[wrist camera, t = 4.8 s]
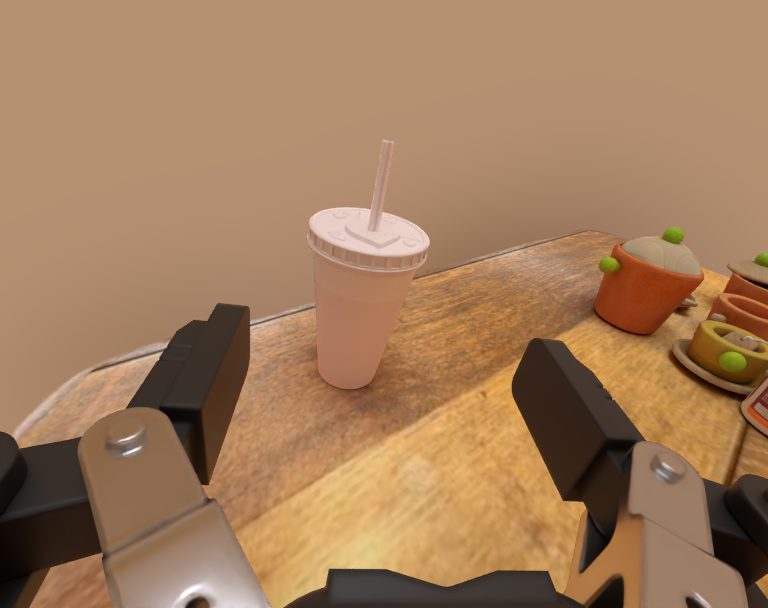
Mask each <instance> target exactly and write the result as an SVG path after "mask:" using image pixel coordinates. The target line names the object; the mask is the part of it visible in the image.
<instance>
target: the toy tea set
mask: <svg viewBox="0 0 768 608" xmlns="http://www.w3.org/2000/svg"><path fill="white" fill-rule="evenodd" d="M683 238H684V232H683V231H682V230H681V229H679V228H676V227H672V228H669V229H668V230H666V231H665V233H664V234H663V237H658V236H657V237H656V236H649V237H642V238H638V239H635V240H631V241H629V242H623V243H619V244H617V245H616V246H615V247H614V249H613V251H612V254H611V257H607V258H604V259H602V260H601V262H600V264H599V268H600V270H601V271H602V272H604V273H605V274H604V277H603V280H602V283H601V286H600V289H599V291H598V294H597V297H596V300H595V303H594V307H595V310H596V312H597V313H598V314H599V315H600V316H601V317H602V318H603V319H605V320H606V321H608V322H609V323H611V324H613V325H615V326H617V327H619V328H621V329H624V330H626V331H630V332H633V333H638V334H649V333H652V332H654V331H655V330H656V329H658V328H659V327H660V325H661V324H662V323H663V322H664V321H665V320H666V319H667V318H668V317H669V316H670V315H671V314H672V313H673V312H674V311H675V310H676V309H677V308H678V307H691V306H693V307H696V306H697V305H698V303H696V302H695V299H694V297H693V296H692V295H691V293H692V292H693V291H694V290H695V289H696V288H697V287H698V286H699V285H700V284H701V282H702V281H703V280H704V273H703V272H702V270H701V268H700V265H699V262H698V260H697V259H696V257H695V256H694V254H693V253H692V252H691V251H690V250H689V249H688V248H687V247H686V246H684V245H682V244H681V243H680V242H681V241H682V240H683ZM727 267H728V269H730V270H731V271H732V272H733V274H732V276H731V278H730V280H729V282H728V284H727V286H726V288H725V290H724V292H723V293H721V294H719V295H718V297H717V299H716V301H715V303H714V305H713V307H712V309H711V311H710V313H709V315H708V317H707V319H706V321H703V322H701V323H700V324H699V326H698V328H697V330H696V332H695V333H694V337H693V339H680V340H677V341H675V342H674V344H673V345H672V351H673V353H674V355H675V356H676V358H677V359H678V360H679V361H680V362H681V363H682V364H683V365H684V366H685V367H687V368H688V369H689V370H690V371H692V372H693V373H695V374H696V375H698V376H699V377H701V378H702V379H704V380H706V381H708V382H710V383H712V384H714V385H716V386H719V387H721V388H723V389H726V390H729V391H732V392H736V393H740V394H745V395H749V394H750V393H751V392H752V391H753V390H754V389H755V387H756V386H757V385H758V384H759V383H760V382H761V381H762V380H763V379H764V378H765V376H766V375H767V374H768V254H767V253H763V254H760V255H758V256H757V257H756V259H755V262H754V261H735V262H731V263H729V264H728V265H727ZM760 374H762V375H760Z"/></svg>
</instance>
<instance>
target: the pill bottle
mask: <svg viewBox="0 0 768 608" xmlns="http://www.w3.org/2000/svg"><path fill="white" fill-rule="evenodd" d="M741 410H742V413H743V415H744V416H745V417H746V419H747V420H748V421H749V422H750V423H751V424H752V425H753V426H755V427H756V428H757V429H758V430H760V431H761V432H763V433H764V434H765V435H767V436H768V374H767V375H766V376H765V378H764V379H763V380H762V381H761V382H760V383H759V384H758V385H757V386H756V387H755V389H754V390H753V391H752V392H751V393H750V394H749V395H748V396H747V398H746V399H745V400H744V401H743V402H742V404H741Z"/></svg>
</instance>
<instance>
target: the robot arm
mask: <svg viewBox="0 0 768 608" xmlns="http://www.w3.org/2000/svg"><path fill="white" fill-rule="evenodd" d="M249 359H250V310H249V307H248V306H241V305H232V304H223V303H222V304H221V303H218V304H217V305H216V307H215V309H214V310H213V312H212V314H211V316H210V317H209V319H208V321H200V320H193V321H191V322H190V323H188V324H187V325H185V326H184V327H183V328H181V329H179V330H178V331H177V332H176V333H175V335H174V336H173V338H172V339H171V341H170V342H169V344H168V347H167V348H166V349H165V350H164V352H163V353H162V355H161V356H160V359H159V361H157V362H156V364H155V365H154V367H153V368H152V370H151V371H150V373H149V374H148V376H147V377H146V379H145V380H144V382H143V383H142V385H141V386H140V388H139V389H138V391H137V392H136V394H135V395H134V397H133V398H132V400H131V401H130V403H129V404H128V406H127V407H126V409H124V410H120V411H117V412H114V413H112V414H110V415H108V416H106V417H104V418H102V419H100V420H99V421H97V422H96V423H95V424H94V425H92V426H91V427H90V428H89V429H88V430H87V431H86V432H85V434H84V435H83V436H82V437H79V438H75V439H70V440H65V441H60V442H54V443H49V444H43V445H38V446H32V447H27V448H21V449H19V446H18V444H17V442H16V441H15V439H14V438H13V437H12V436H11V435H9V434H7V433H4V432H0V608H29V607H30V605H31V603H32V601H33V599H34V597H35V595H36V594H37V592H38V590H39V588H40V586H41V584H42V582H43V581H44V579H45V577H46V575H47V573H48V571H49V570H50V568H51V567H54V566H57V565H61V564H64V563H67V562H71V561H74V560H78V559H81V558H85V557H88V556H92V555H95V554H99V553H103V557H102V563H103V569H104V573H105V577H106V582H107V586H108V590H109V594H110V598H111V602H112V606H113V608H272V607H271V605H270V603H269V601H268V599H267V597H266V595H265V593H264V591H263V589H262V587H261V585H260V583H259V581H258V579H257V577H256V575H255V573H254V571H253V569H252V567H251V565H250V563H249V561H248V559H247V557H246V555H245V554H244V552H243V550H242V548H241V546H240V544H239V542H238V540H237V538H236V536H235V534H234V532H233V530H232V528H231V526H230V524H229V522H228V520H227V518H226V516H225V514H224V512H223V510H222V508H221V507H220V505H219V503H218V502H217V501H216V500H215V499H214V498H212V499H209V498H208V497H207V495H206V493H205V491H204V489H203V487H202V485H209V482H210V479H211V476H212V474H213V471H214V468H215V465H216V462H217V459H218V456H219V453H220V450H221V447H222V444H223V442H224V439H225V436H226V433H227V430H228V427H229V424H230V421H231V418H232V415H233V413H234V410H235V407H236V404H237V401H238V398H239V395H240V392H241V389H242V386H243V384H244V381H245V378H246V375H247V371H248V366H249ZM512 394H513V398H514V400H515V402H516V404H517V406H518V408H519V410H520V412H521V415H522V417H523V419H524V421H525V423H526V425H527V427H528V429H529V431H530V433H531V435H532V437H533V439H534V442H535V444H536V446H537V448H538V450H539V452H540V454H541V456H542V458H543V460H544V462H545V464H546V466H547V468H548V471H549V473H550V475H551V477H552V479H553V481H554V483H555V485H556V487H557V489H558V491H559V493H560V495H561V498H562V500H563V501H578V502H584V504H585V506H586V509H585V511H584V512H583V513H582V515H581V518H580V523H579V528H578V533H577V538H576V544H575V549H574V554H573V559H572V564H571V570H570V575H569V580H568V583H567V586H566V588H565V591H564V593H563V594H561V593H559V592H556V590H555V588H554V585H553V582H552V580H551V577H550V575H549V572H548V571H503V570H498V571H495V572H492V573H489V574H486V575H483V576H480V577H477V578H474V579H471V580H468V581H465V582H462V583H459V584H456V585H454V586H450V587H443V586H439V585H436V584H433V583H429V582H426V581H423V580H419V579H416V578H413V577H410V576H406V575H403V574H400V573H397V572H393V571H390V570H387V569H329V572H328V577H327V581H326V586H325V587H324V588H321V589H318V590H315V591H312V592H310V593H308V594H306V595H304V596H302V597H299V598H298V599H296V600H294V601H293V602H291V603H290V604H288V605H287V606H285V607H284V608H768V599H767V598H766V597H765V595H764V594H763V592H762V591H761V590H760V588H759V587H758V586H757V584H756V583H755V582H757V581H758V580H759V579H761V578H762V577H764V576H765V575H766V574H768V479H766V478H763V477H760V476H757V475H752V474H746V475H743V476H741V477H740V478H739V479H738V480H737V481H736V482H735V483H734V484H733V485H732V486H731V487H728V486H725V485H722V484H719V483H716V482H713V481H710V480H707V479H704V478H701V476H700V475H699V473H698V472H697V470H696V469H695V468H694V467H693V466H692V465H691V464H690V463H689V462H688V461H687V460H686V459H685V458H683V457H682V456H681V455H679V454H678V453H676V452H675V451H673V450H671V449H670V448H668V447H666V446H663V445H661V444H658V443H655V442H651V441H646V440H645V439H644V437H643V436H642V435H641V433H640V432H639V431H638V430H637V428H636V427H635V426H634V424H633V423H632V422H631V421H630V419H629V418H628V417H627V415H626V414H625V413H624V412H623V410H622V409H621V408H620V407H619V405H618V404H617V403H616V401H615V400H612V396H611V395H610V394H609V392H608V391H607V390H606V389H605V388H603V385H602V383H601V382H600V381H599V380H598V378H597V377H596V376H595V374H594V373H593V372H592V371H591V370H589V369H588V368H587V367H586V366H584V365H583V364H582V363H581V362H579V361H578V360H577V359H576V358H575V357H574V356H573V354H572V353H571V352H570V350H569V349H568V348H567V346H566V345H565V344H564V343H563V342H562V341H559V340H550V339H540V338H534V339H532V340H531V341H530V343H529V344H528V347H527V349H526V351H525V353H524V355H523V357H522V359H521V362H520V364H519V366H518V368H517V370H516V372H515V375H514V377H513V380H512Z"/></svg>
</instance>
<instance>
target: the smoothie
mask: <svg viewBox="0 0 768 608" xmlns="http://www.w3.org/2000/svg"><path fill="white" fill-rule="evenodd" d="M393 148H394V142H392V141H388V140H383V141H382V146H381V152H380V158H379V164H378V170H377V176H376V182H375V188H374V194H373V200H372V206H371V210H370V209H363V208H351V207H350V208H349V207H342V208H332V209H326V210H323V211H320V212H318V213H316V214H315V215H313V216H312V217H311V218H310V221H309V231H308V235H307V241H308V244H309V246H310V247H311V248H312V249H313V255H314V282H315V307H316V331H317V356H318V371H319V374H320V376H321V377H322V378H323V379H324V380H325V381H326V382H327V383H329V384H330V385H332V386H335V387H338V388H342V389H358V388H361V387H364V386H366V385H368V384H369V383H370V382H371V381H372V380H373V378H374V376H375V373H376V370H377V368H378V365H379V363H380V360H381V358H382V355H383V353H384V350H385V348H386V345H387V343H388V340H389V338H390V335H391V332H392V330H393V327H394V325H395V322H396V320H397V317H398V315H399V312H400V310H401V307H402V305H403V302H404V299H405V297H406V294H407V292H408V290H409V287H410V285H411V282H412V279H413V277H414V274H415V271H416V269H417V268H419V267H420V266H421V265H422V264H424V263H425V262H426V258H427V250H428V247H429V243H430V241H429V238H428V236H427V234H426V233H425V232H424V231H423V230H422V229H421V228H419V227H418V226H417V225H415V224H413V223H411V222H409V221H407V220H405V219H403V218H400V217H398V216H394V215H392V214H388V213H385V212H382V209H383V203H384V198H385V192H386V186H387V181H388V175H389V170H390V164H391V159H392V153H393Z"/></svg>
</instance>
